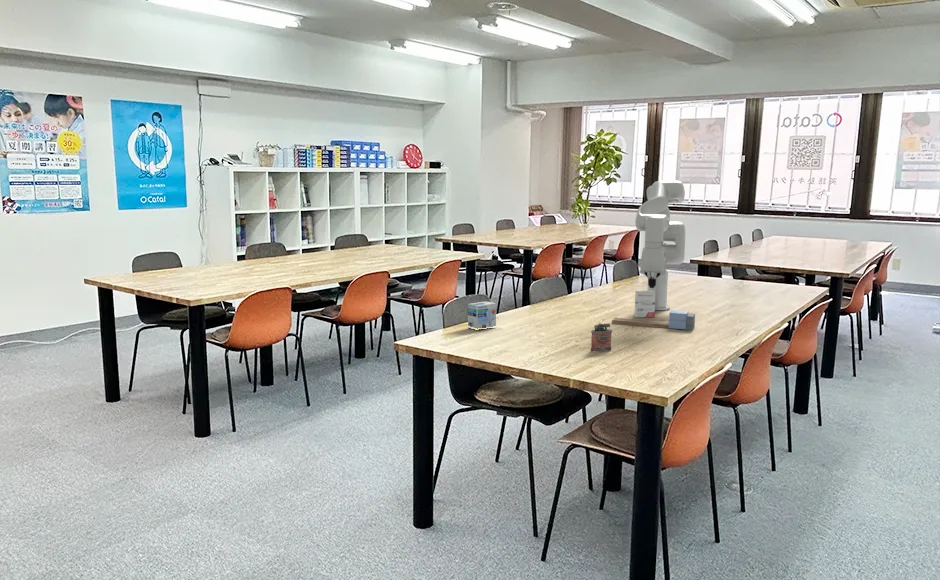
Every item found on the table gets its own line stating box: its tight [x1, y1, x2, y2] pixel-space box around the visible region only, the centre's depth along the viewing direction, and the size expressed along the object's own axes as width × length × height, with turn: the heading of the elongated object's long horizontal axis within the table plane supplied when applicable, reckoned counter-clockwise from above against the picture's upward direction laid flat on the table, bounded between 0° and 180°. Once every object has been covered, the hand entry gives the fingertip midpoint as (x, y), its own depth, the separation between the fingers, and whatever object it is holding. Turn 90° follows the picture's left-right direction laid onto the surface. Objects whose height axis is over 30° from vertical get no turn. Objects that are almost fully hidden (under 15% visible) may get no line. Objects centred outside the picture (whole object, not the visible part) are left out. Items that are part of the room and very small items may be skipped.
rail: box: [611, 312, 696, 332], centre depth 305 cm, size 8×34×6 cm, turn 67°
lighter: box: [590, 323, 613, 352], centre depth 259 cm, size 8×3×10 cm, turn 106°
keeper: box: [668, 309, 690, 330], centre depth 300 cm, size 8×7×6 cm
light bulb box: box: [467, 300, 497, 329], centre depth 297 cm, size 11×7×11 cm, turn 129°
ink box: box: [634, 289, 656, 318], centre depth 325 cm, size 9×5×12 cm, turn 84°
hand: (651, 287), depth 304 cm, fingers closed
